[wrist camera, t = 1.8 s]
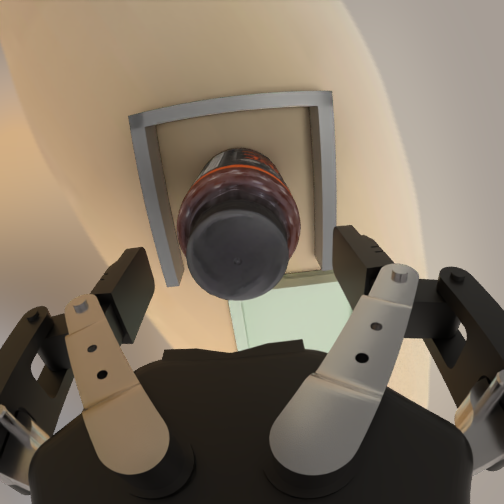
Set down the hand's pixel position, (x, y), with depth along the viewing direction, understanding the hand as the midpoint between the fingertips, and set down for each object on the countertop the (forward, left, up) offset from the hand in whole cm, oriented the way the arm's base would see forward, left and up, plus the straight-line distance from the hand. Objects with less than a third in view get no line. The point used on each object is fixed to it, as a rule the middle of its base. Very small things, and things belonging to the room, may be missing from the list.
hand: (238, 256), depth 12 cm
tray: (+14, +4, -10) cm, 18 cm away
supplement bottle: (0, 0, -11) cm, 11 cm away
